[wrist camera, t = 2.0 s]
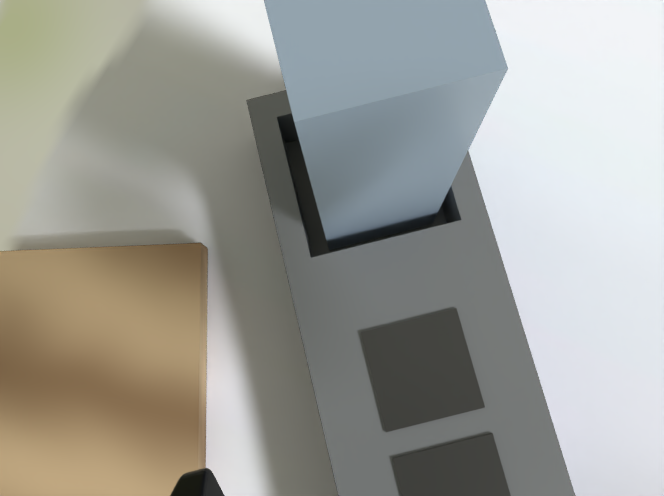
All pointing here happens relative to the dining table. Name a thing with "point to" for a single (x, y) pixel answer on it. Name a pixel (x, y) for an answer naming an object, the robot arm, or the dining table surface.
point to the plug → (384, 103)
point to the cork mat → (102, 369)
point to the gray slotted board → (411, 342)
